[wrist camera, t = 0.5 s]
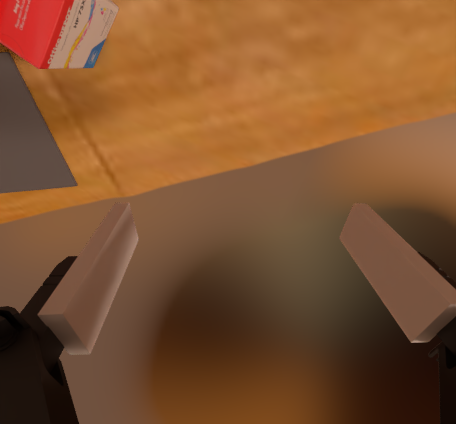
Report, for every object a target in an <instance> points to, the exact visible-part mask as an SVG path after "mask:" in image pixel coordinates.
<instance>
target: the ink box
mask: <svg viewBox="0 0 456 424" xmlns="http://www.w3.org/2000/svg"><path fill="white" fill-rule="evenodd" d="M118 10H119V8H118V6H117V5H115V4H114V3H113V2H112V1H111V0H0V43H1V44H2V45H4V46H5V47H7V48H8V49H10V50H11V51H13V52H14V53H16V54H17V55H18V56H20V57H21V58H23V59H24V60H26V61H27V62H29V63H30V64H32V65H33V66H35V67H36V68H38V69H55V68H93V67H94V65H95V62H96V60H97V58H98V55H99V53H100V51H101V49H102V46H103V44H104V42H105V39H106V37H107V35H108V33H109V30H110V28H111V26H112V24H113V21H114V19H115V17H116V14H117V12H118Z"/></svg>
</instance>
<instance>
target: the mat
mask: <svg viewBox="0 0 456 424" xmlns="http://www.w3.org/2000/svg"><path fill="white" fill-rule="evenodd" d="M73 186H77V183H76V181H75V179H74V177H73V175H72V173H71V171H70V169H69V167H68V165H67V163H66V161H65V159H64V158H63V156H62V154H61V152H60V150H59V148H58V146H57V144H56V142H55V140H54V138H53V136H52V134H51V132H50V130H49V129H48V127H47V125H46V123H45V121H44V119H43V117H42V115H41V113H40V111H39V109H38V107H37V105H36V103H35V101H34V99H33V98H32V96H31V94H30V92H29V90H28V88H27V86H26V84H25V82H24V80H23V78H22V76H21V74H20V72H19V70H18V68H17V67H16V65H15V63H14V61H13V59H12V57H11V55H10V53H9V52H3V53H0V193H8V192H19V191H30V190H41V189H51V188H62V187H73Z"/></svg>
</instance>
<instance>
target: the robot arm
mask: <svg viewBox="0 0 456 424" xmlns="http://www.w3.org/2000/svg"><path fill="white" fill-rule="evenodd" d="M339 238H340V240H341V241H342V243H343V245H344V246H345V247H346V249H347V250H348V252H349V253H350V255H351V256H352V258H353V259H354V261H355V262H356V263H357V265H358V266H359V268H360V269H361V271H362V272H363V274H364V275H365V276H366V278H367V279H368V281H369V282H370V284H371V285H372V286H373V288H374V289H375V291H376V292H377V294H378V295H379V297H380V298H381V300H382V301H383V302H384V304H385V305H386V307H387V308H388V310H389V311H390V313H391V314H392V316H393V317H394V318H395V320H396V321H397V323H398V324H399V326H400V327H401V329H402V330H403V332H404V333H405V334H406V336H407V337H408V339H409V340H410V342H411V343H413V342H429V341H430V340H431V339H432V338H433V337H434V336H435V335H438V336H439V338H440V339H441V340H442V342H441V343H440V344H438V345H437V346H436V347H435V348H434V349H433V350H431V351H430V352H429V355H428V356H429V357H431V358H432V357H433V356H434V355H435V354H437V353H438V355H439V358H438V359H436V361H438V362H439V392H440V393H439V394H440V424H456V282H455V281H454V280H453V279H452V278H449V276H448V275H447V274H446V273H445V272H444V271H442V270H441V268H440V267H439V266H437V265H436V264H435V263H434V262H433V261H432V260H431V259H429V258H428V257H426V256H424V255H423V254H421V253H420V252H416V251H415V250H414V249H413V248H412V247H411V246H410V245H409V244H408V243H407V242H406V241H405V240H403V238H401V237H400V236H399V235H398V234H397V233H396V232H395V231H394V230H393V229H392V228H391V227H390V226H389V225H388V224H387V223H386V222H385V221H384V220H383V219H382V218H381V217H380V216H379V215H378V214H377V213H375V212H374V211H373V210H372V209H371V208H370V207H369V206H368V205H367V204H364V203H362V204H360V203H359V204H357V203H354V204H353V206H352V209H351V211H350V214H349V216H348V218H347V221H346V223H345V226H344V228H343V230H342V233H341V235H340V237H339ZM138 240H139V239H138V235H137V231H136V227H135V224H134V220H133V216H132V213H131V208H130V205H129V203H115V204H114V205H113V207H112V208H111V209H110V211H109V212H108V214H107V215H106V217H105V218H104V220H103V221H102V222H101V224H100V226H99V227H98V228H97V230H96V231H95V233H94V234H93V235H92V237H91V238H90V240H89V241H88V243H87V244H86V246H85V247H84V248H83V250H82V251H81V253H80V254H79V256H68V257H67V258H66V259H64V260H63V261H62V262H61V263H59V264H58V265H57V266H56V267H55V268H54V270H53V271H52V272H51V274H50V275H49V277H48V278H47V279H46V280H45V281H44V283H43V286H41V287H40V288H39V289H38V291H37V292H36V293H35V294H34V296H33V297H32V298H31V300H30V301H29V302H28V304H27V305H26V306H25V308H24V309H23V310H22V311H21V313H20V314H19V313H18V311H17V310H16V309H15V308H12V307H9V306H6V307H0V424H79V422H78V418H77V415H76V411H75V408H74V404H73V401H72V397H71V394H70V390H69V387H68V383H67V380H66V376H65V373H64V370H63V366H62V363H61V361H60V359H59V356H60V355H61V353H62V351H63V349H64V348H65V349H66V351H67V352H68V353H69V354H70V355H74V354H90V353H91V351H92V348H93V346H94V344H95V342H96V339H97V337H98V334H99V332H100V330H101V327H102V325H103V323H104V320H105V318H106V316H107V313H108V311H109V309H110V306H111V304H112V301H113V299H114V297H115V294H116V292H117V290H118V287H119V285H120V282H121V280H122V278H123V275H124V273H125V270H126V268H127V266H128V263H129V261H130V259H131V256H132V254H133V252H134V249H135V247H136V245H137V242H138Z"/></svg>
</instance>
